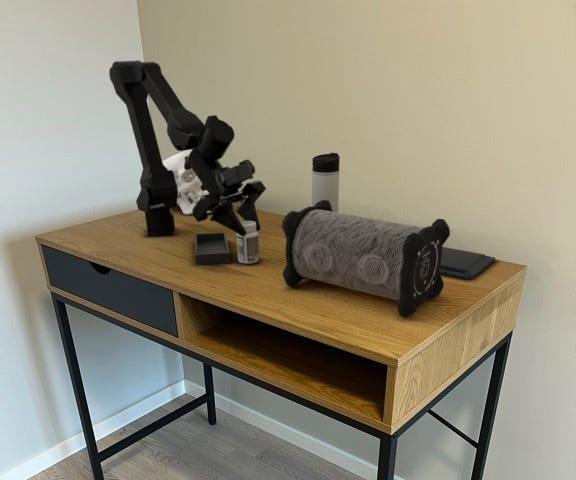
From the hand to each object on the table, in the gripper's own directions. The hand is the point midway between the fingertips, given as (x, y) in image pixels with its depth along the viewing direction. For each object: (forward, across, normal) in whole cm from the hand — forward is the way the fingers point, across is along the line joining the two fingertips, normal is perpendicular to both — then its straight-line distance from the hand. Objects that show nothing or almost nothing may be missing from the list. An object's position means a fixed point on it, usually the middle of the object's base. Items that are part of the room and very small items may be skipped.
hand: (252, 232), depth 128 cm
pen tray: (-4, 0, +14) cm, 14 cm away
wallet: (+28, +24, -19) cm, 42 cm away
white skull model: (-27, +25, +38) cm, 53 cm away
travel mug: (+8, +22, +2) cm, 23 cm away
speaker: (+25, -1, -15) cm, 29 cm away
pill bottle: (+4, 0, +6) cm, 7 cm away
